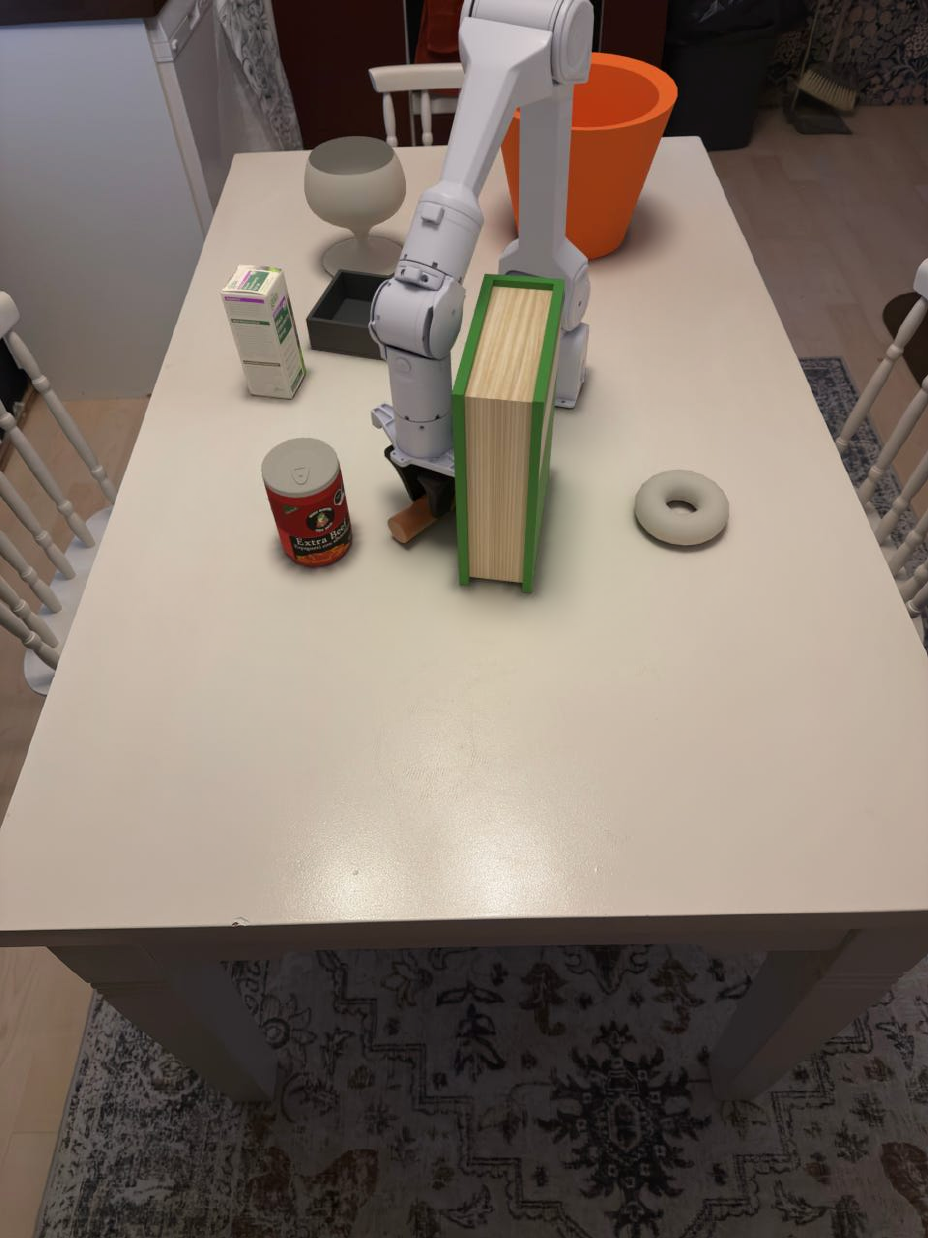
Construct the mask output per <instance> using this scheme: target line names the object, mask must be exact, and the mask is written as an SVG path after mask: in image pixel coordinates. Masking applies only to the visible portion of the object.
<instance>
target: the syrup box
mask: <svg viewBox="0 0 928 1238" xmlns="http://www.w3.org/2000/svg"><path fill="white" fill-rule="evenodd" d="M220 296H221V299H222V302H223V303H222V304H223V307H224V310H225V313H226V316H227V319H228V323H229V326H230V330H231V334H232V337H233V340H234V344H235V347H236V350H237V353H238V358H239V360H240V364H241V366H242V371H243V374H244V378H245V381H246V384H247V388H248V390H249V393H250V394H251V395H255V396H259V397H268V398H276V399H289V400H292V399H293V398H294V395H295V393H296V392H297V390H298V388H299V386H300V385H301V382H302V380H303V378H304V377H305V375H306V372H307V368H306V364H305V361H304V357H303V351H302V347H301V342H300V339H299V334H298V330H297V329H298V328H297V325H296V319H295V316H294V312H293V308H292V303H291V299H290V295H289V288H288V285H287V280H286V276H285V272H284V270H283V268H280V267H274V266H266V265H257V264H256V265H255V264H238V265H237V267H236V269H235V271H234V273H233V274H232V275H231V276H230V278H228V280H227V282H226V283H225V285H224V286H223V288H222V289H221V291H220Z"/></svg>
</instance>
